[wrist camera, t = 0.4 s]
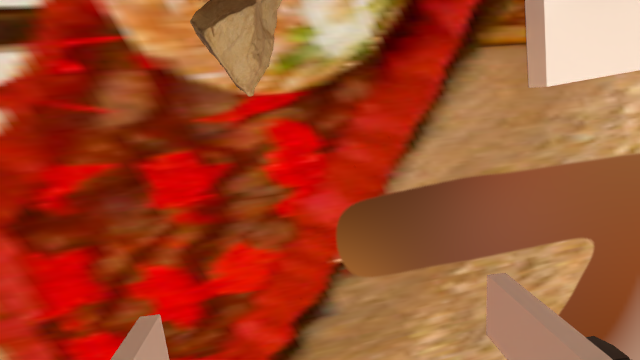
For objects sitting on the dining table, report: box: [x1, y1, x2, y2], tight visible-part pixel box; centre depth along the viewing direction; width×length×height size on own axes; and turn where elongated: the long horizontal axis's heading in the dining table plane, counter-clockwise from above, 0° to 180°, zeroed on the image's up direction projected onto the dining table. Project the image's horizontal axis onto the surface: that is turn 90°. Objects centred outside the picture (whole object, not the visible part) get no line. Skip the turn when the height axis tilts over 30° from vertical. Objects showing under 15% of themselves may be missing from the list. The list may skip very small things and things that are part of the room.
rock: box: [190, 0, 282, 96], centre depth 35 cm, size 11×9×10 cm
